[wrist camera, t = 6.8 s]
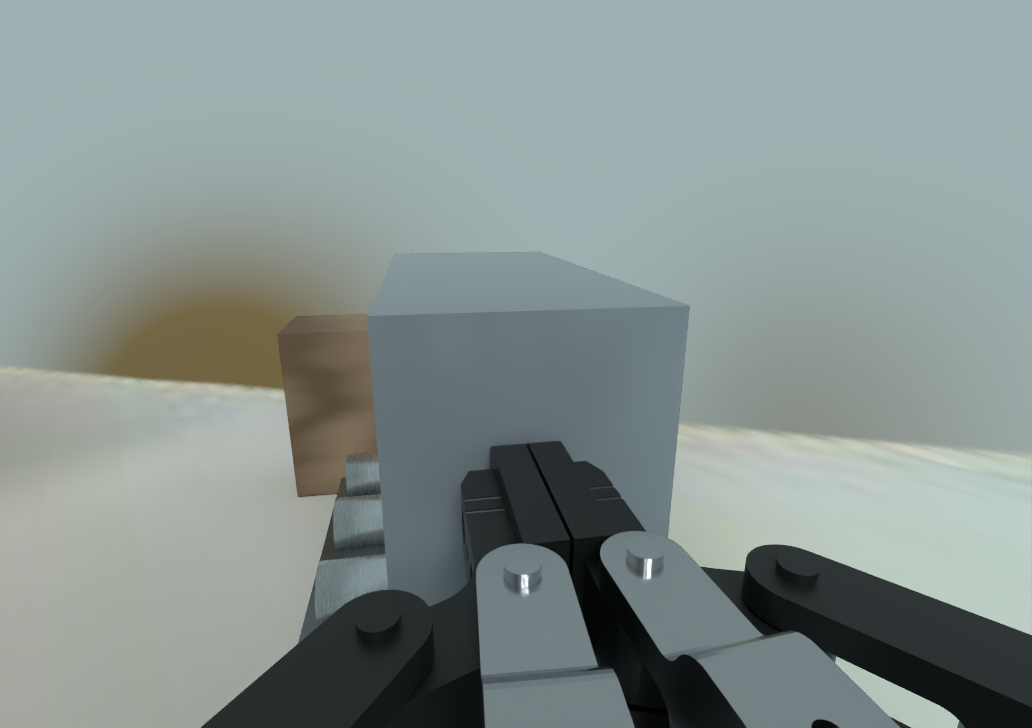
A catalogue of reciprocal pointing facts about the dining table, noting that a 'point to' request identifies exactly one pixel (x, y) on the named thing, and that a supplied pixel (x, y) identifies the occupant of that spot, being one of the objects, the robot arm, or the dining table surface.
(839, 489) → the dining table surface
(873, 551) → the dining table surface
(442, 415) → the slate block
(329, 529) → the conveyor
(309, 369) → the stop bar
